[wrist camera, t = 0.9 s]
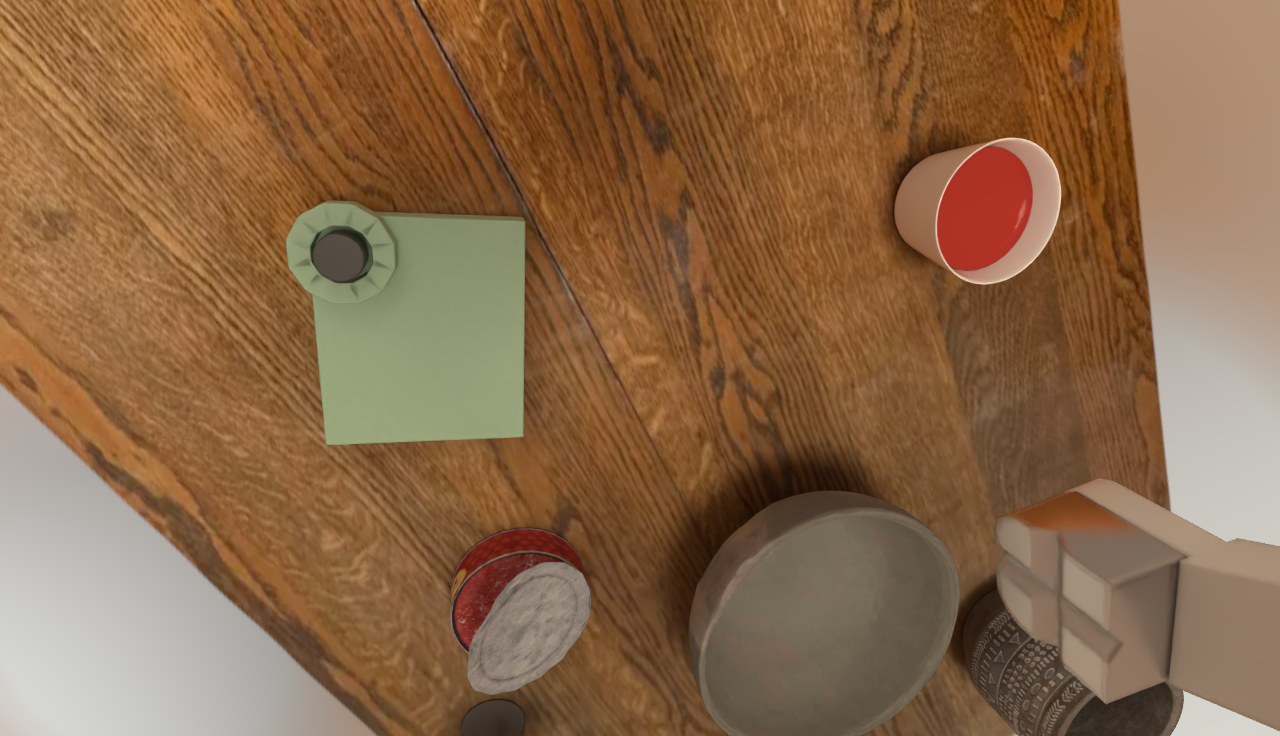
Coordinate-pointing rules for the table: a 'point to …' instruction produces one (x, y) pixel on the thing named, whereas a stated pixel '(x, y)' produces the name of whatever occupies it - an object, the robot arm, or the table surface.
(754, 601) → the bowl
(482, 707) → the sundae
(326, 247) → the button
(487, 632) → the canned food
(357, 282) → the scale
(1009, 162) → the cup with red liquid
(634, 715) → the table surface
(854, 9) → the table surface
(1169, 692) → the planter
